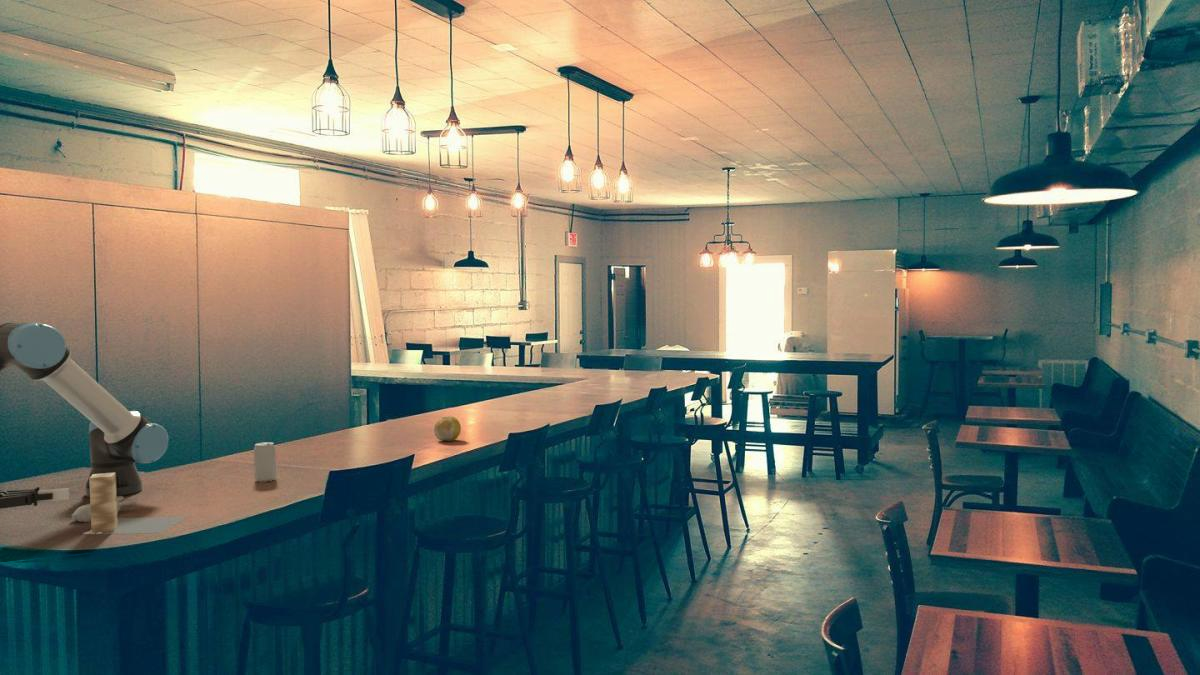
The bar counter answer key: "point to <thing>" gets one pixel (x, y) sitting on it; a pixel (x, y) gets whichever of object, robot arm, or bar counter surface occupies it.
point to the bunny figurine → (85, 511)
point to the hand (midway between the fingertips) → (68, 493)
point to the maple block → (103, 502)
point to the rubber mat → (145, 525)
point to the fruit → (447, 428)
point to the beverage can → (264, 462)
